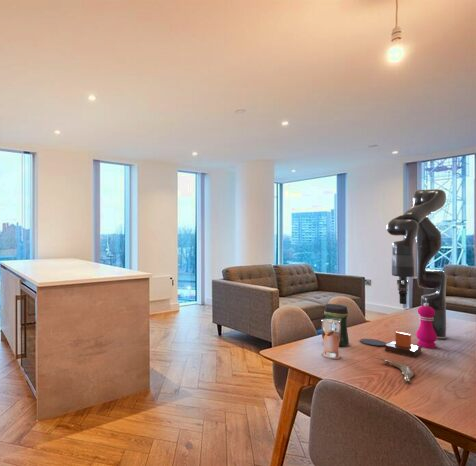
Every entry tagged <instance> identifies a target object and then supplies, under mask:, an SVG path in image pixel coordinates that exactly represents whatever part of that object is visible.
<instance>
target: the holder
mask: <svg viewBox="0 0 476 466" xmlns="http://www.w3.org/2000/svg"><path fill="white" fill-rule="evenodd" d="M386 344H387V345H385V346H384V347H385V348H384V350H385V352H389V353H393V354H398V355H403V356H406V357H411V358H415V357H417V356H418V355H420V354H422V346H419V345H415V344H411V348H407V347H403V346H398V345H396V340H392V341H390V342H388V343H386Z"/></svg>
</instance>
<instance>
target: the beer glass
mask: <svg viewBox="0 0 476 466" xmlns="http://www.w3.org/2000/svg"><path fill="white" fill-rule="evenodd" d="M340 337H341V327H340V321H337V320H333V319H326V318H323V319H321V338H322V342H323V353H322V356H323V357H324V358H327V359H330V360H339V359H340V357H341V356H340V351H339V348H340V346H339V342H340Z"/></svg>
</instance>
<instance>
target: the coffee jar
mask: <svg viewBox="0 0 476 466" xmlns="http://www.w3.org/2000/svg"><path fill="white" fill-rule="evenodd" d="M323 313H324V316H325V319H333V320H337V321H340V327H341V337H340V342H339V347H347V346H349V344H350V342H349V341H350V340H349V333H348V322H347V321H348V320H347V319H348V318H349V317H348V316H349V310H348V306H347V305H344V304H338V303H326V304H325V305H324V309H323Z"/></svg>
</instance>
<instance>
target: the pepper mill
mask: <svg viewBox="0 0 476 466" xmlns="http://www.w3.org/2000/svg"><path fill="white" fill-rule="evenodd" d="M417 314H418V317H419V318H418V319H419V320H420V323H419V326H418V329H417V330H416V333H415V336H416V337H415V338H416V339H418V340H417V346H420V347H421V348H427V349H436V348H437V345H436V343H435V342H436V341H438V339H437V335H436V333H435V331H434V329H433V325H432V321H434V320H433V319H434V318H433V316H434V315H435V310H434V309H433V308H432V307H429V304H428V303H424V306H421V305H420V306H419V307H418V308H417Z"/></svg>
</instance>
